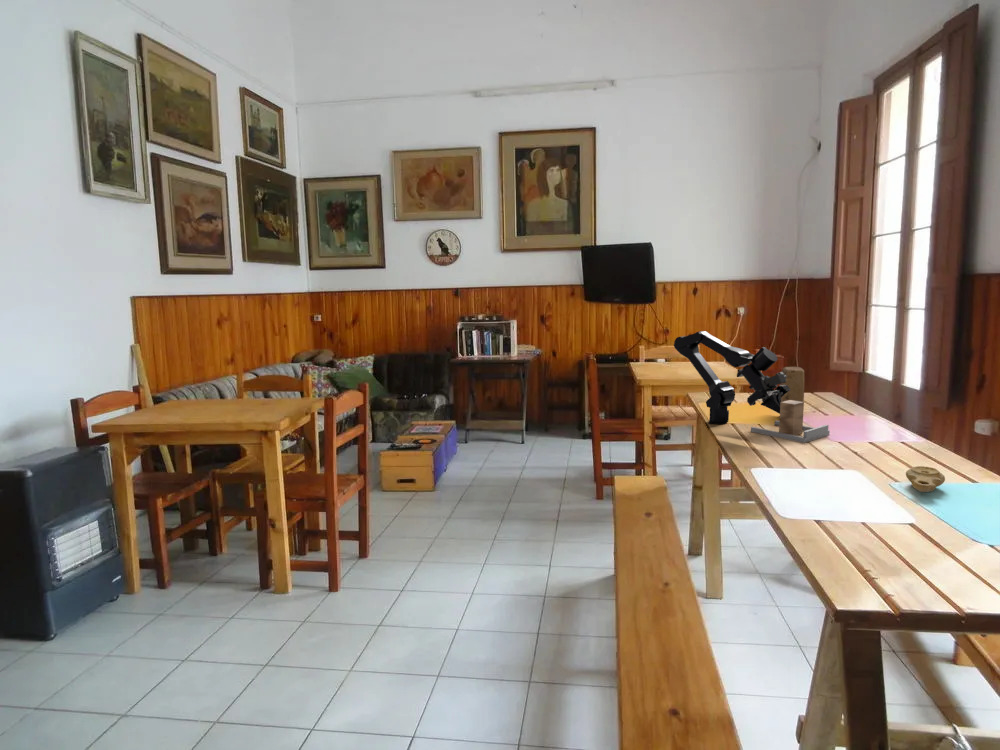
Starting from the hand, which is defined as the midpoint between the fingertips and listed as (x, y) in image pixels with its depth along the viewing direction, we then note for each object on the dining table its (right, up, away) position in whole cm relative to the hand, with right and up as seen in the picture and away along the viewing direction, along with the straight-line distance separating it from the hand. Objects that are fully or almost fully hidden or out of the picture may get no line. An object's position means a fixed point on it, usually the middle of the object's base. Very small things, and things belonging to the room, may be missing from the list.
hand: (783, 414), depth 219 cm
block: (+15, -3, +28) cm, 32 cm away
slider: (+2, -7, -1) cm, 7 cm away
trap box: (+2, -8, -1) cm, 8 cm away
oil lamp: (+13, -17, -54) cm, 58 cm away
